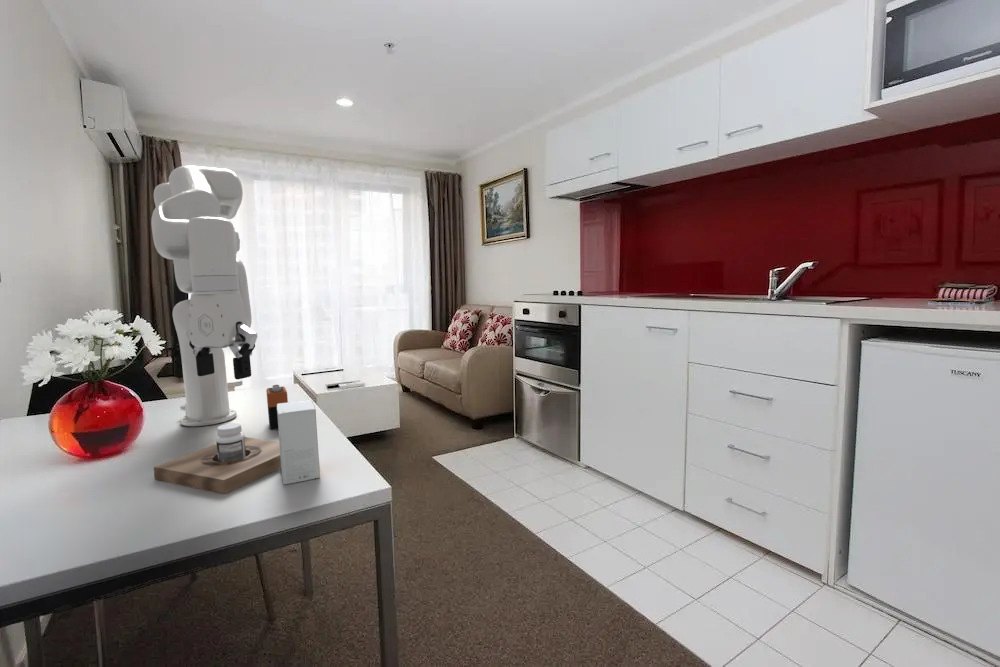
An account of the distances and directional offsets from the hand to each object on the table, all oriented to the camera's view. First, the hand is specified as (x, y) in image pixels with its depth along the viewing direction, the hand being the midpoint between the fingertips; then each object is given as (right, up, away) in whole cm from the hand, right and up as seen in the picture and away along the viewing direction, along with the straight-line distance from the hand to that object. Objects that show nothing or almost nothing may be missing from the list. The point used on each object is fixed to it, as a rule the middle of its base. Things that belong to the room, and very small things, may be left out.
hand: (224, 376), depth 93 cm
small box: (+15, -18, -2) cm, 24 cm away
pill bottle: (0, -18, +2) cm, 18 cm away
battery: (-3, -15, +29) cm, 33 cm away
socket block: (0, -18, +2) cm, 18 cm away
